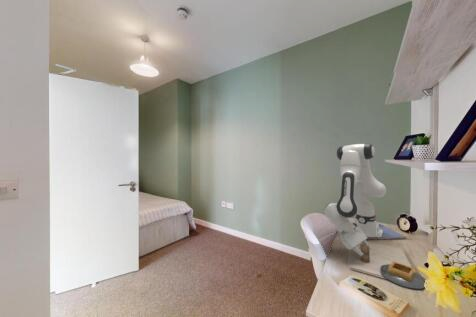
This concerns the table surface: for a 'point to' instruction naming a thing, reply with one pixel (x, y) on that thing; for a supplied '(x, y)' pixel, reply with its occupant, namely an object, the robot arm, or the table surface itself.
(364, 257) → the walnut post
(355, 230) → the robot arm
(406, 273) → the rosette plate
